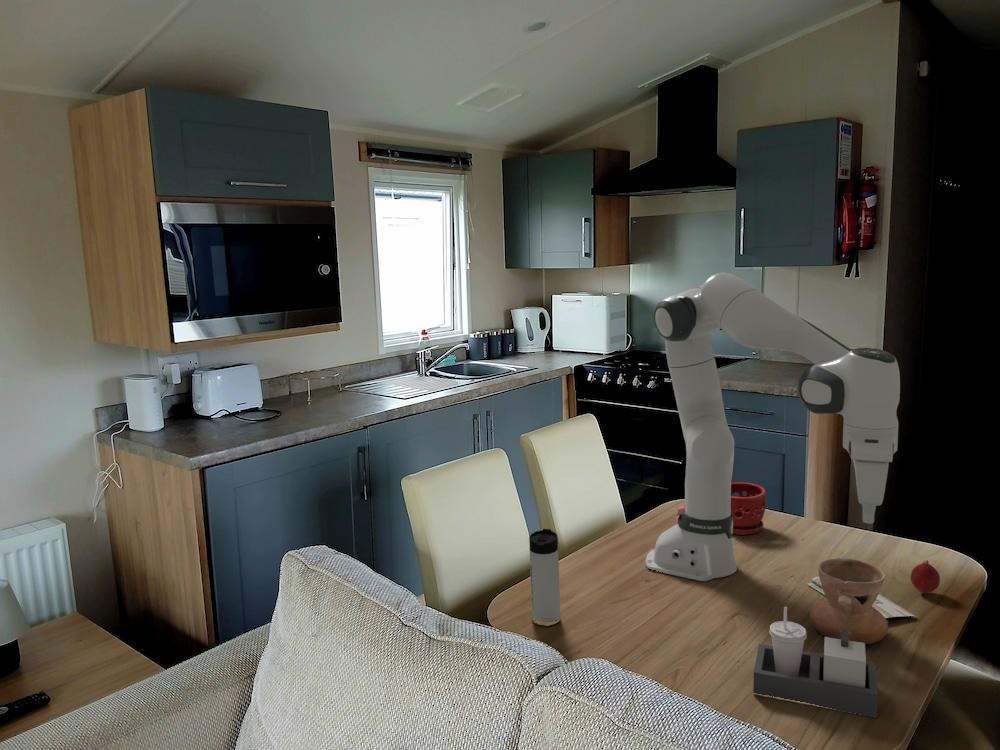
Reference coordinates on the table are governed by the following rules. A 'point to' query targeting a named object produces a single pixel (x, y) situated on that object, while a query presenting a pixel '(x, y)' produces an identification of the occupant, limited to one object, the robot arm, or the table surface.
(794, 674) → the smoothie
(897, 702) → the table surface
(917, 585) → the onion
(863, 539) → the table surface
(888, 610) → the newspaper
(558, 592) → the travel mug
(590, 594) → the table surface
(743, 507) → the plant pot
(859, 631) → the ceramic jug
